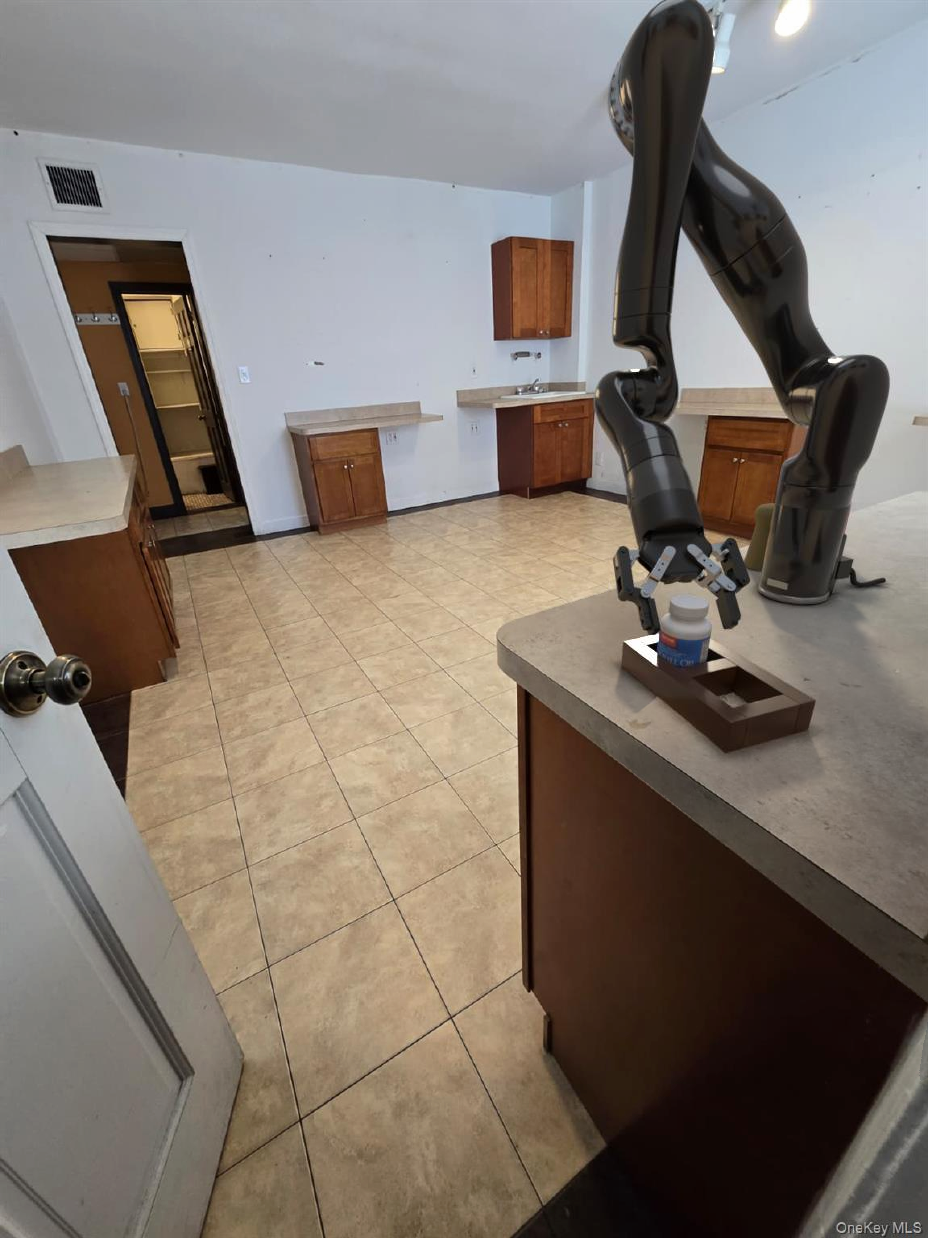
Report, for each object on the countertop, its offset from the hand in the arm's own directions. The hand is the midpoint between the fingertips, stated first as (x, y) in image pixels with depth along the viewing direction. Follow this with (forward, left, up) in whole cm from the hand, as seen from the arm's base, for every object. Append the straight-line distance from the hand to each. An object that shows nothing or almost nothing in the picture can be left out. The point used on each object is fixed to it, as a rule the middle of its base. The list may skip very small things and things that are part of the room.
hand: (693, 630), depth 56 cm
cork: (-37, -27, -7) cm, 47 cm away
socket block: (0, +3, -7) cm, 7 cm away
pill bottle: (0, -2, -7) cm, 7 cm away
